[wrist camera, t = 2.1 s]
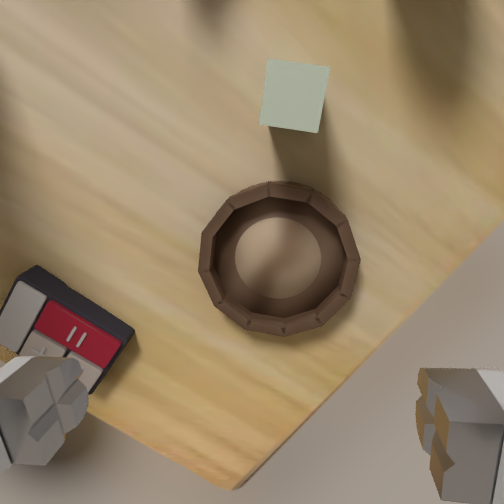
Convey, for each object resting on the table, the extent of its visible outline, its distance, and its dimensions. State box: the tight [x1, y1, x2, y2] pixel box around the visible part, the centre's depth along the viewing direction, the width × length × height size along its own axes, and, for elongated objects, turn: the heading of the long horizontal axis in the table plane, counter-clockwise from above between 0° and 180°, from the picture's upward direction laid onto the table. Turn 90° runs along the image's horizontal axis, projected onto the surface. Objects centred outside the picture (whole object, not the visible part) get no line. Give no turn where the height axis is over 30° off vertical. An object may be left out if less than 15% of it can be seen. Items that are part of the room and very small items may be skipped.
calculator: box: [0, 265, 135, 394], centre depth 46 cm, size 11×4×15 cm
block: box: [259, 59, 330, 133], centre depth 31 cm, size 4×4×10 cm
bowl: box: [198, 181, 360, 337], centre depth 39 cm, size 17×17×3 cm
